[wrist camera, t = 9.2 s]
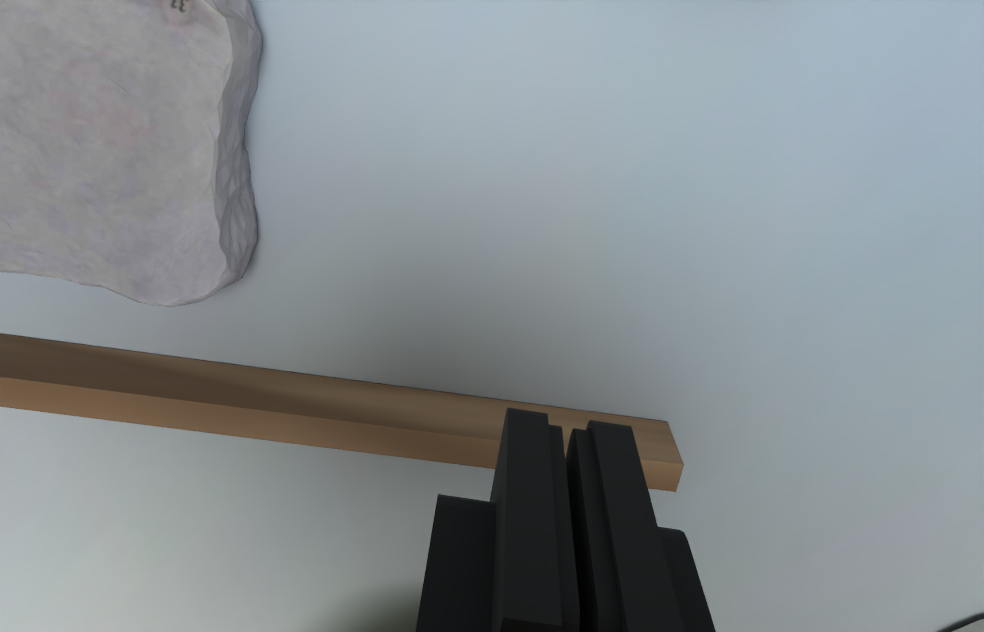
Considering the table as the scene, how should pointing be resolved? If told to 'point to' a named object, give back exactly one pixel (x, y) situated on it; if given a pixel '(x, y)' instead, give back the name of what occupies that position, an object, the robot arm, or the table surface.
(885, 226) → the table surface
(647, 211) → the table surface
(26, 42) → the stone block
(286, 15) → the table surface
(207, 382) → the channel
